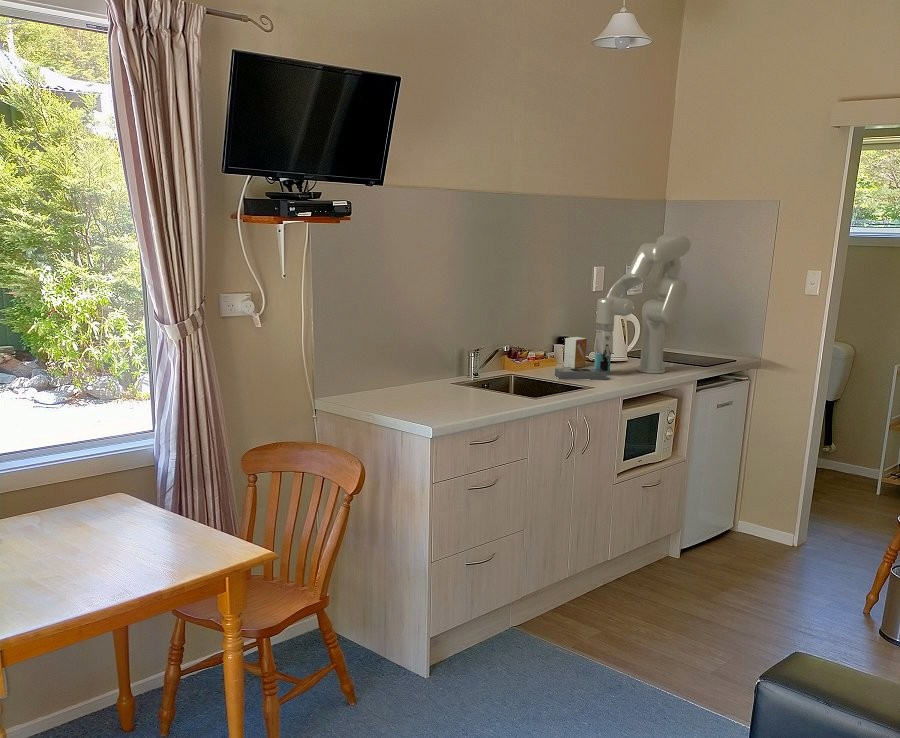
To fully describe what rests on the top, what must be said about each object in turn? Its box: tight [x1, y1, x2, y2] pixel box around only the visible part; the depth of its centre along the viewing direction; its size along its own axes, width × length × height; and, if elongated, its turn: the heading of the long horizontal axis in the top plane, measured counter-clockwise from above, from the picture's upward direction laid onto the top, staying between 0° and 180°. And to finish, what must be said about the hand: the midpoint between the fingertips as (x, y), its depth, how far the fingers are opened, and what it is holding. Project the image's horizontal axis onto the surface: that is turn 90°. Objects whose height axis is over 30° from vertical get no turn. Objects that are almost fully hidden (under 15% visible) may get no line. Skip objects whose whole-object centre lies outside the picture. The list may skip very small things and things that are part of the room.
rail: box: [554, 367, 607, 381], centre depth 336 cm, size 20×7×4 cm, turn 97°
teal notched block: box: [593, 352, 612, 376], centre depth 346 cm, size 6×3×9 cm, turn 97°
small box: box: [563, 336, 588, 369], centre depth 362 cm, size 8×6×13 cm
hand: (602, 369), depth 346 cm, fingers open, 4 cm apart
